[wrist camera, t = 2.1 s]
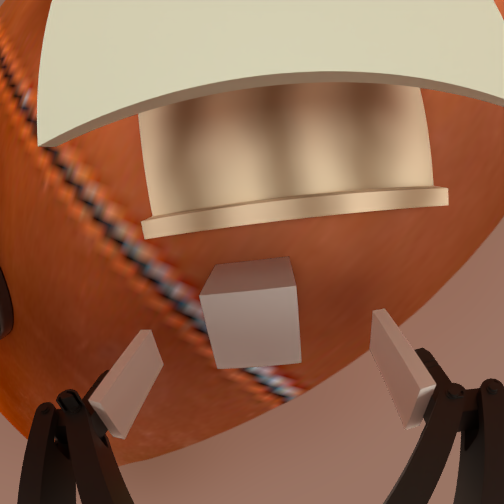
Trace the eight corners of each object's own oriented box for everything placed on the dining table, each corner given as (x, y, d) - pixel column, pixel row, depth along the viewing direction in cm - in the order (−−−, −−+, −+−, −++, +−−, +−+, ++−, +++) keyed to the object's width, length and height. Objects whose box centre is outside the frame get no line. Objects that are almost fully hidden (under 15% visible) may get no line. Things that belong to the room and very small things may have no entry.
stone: (228, 326, 22) (217, 368, 17) (215, 264, 21) (199, 295, 15) (294, 320, 22) (301, 362, 16) (288, 256, 20) (296, 285, 15)
